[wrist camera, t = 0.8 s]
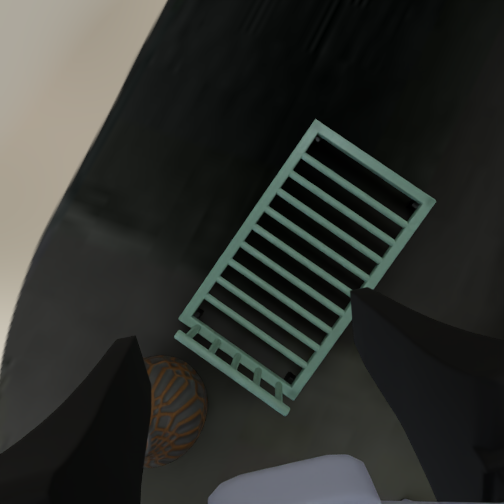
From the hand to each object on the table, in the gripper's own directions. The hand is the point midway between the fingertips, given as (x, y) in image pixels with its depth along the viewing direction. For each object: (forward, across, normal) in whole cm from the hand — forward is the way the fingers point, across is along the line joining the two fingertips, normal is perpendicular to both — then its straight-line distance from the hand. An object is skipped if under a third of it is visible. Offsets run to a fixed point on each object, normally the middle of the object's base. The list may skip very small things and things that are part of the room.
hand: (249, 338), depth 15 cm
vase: (+16, +6, +14) cm, 22 cm away
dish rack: (+17, -5, +6) cm, 19 cm away
